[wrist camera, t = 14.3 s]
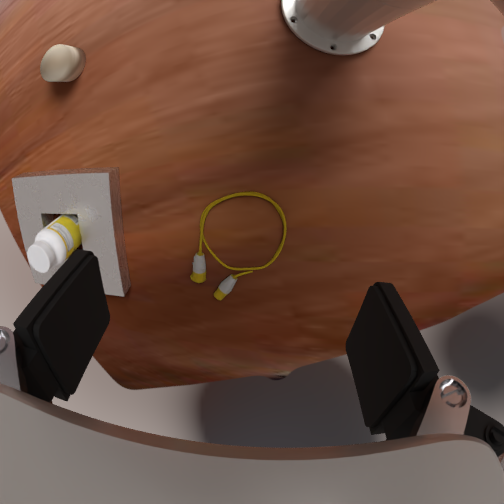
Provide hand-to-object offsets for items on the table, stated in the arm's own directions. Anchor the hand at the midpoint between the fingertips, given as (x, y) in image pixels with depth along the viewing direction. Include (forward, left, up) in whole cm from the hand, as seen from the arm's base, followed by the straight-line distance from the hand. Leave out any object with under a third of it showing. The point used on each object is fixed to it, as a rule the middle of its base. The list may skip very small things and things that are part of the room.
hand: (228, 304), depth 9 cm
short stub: (-14, -24, -27) cm, 39 cm away
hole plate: (+10, -25, -27) cm, 38 cm away
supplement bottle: (+10, -25, -27) cm, 38 cm away
